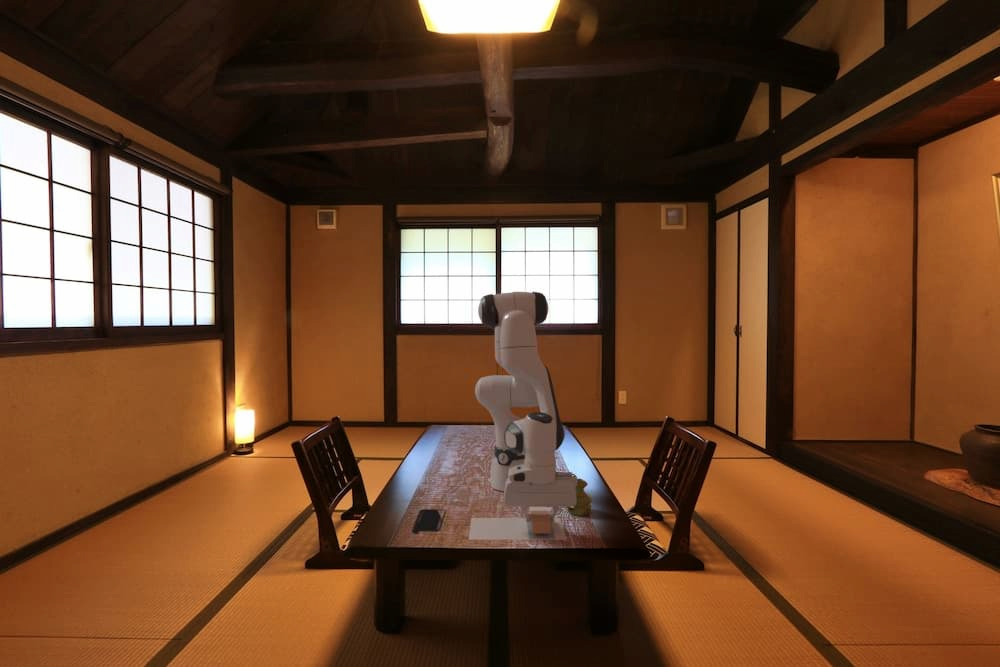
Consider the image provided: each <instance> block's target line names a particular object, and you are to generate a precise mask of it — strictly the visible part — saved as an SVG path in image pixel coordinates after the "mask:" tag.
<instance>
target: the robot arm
mask: <svg viewBox="0 0 1000 667" xmlns="http://www.w3.org/2000/svg"><path fill="white" fill-rule="evenodd" d="M548 303H549V302H548V300H547V297H546V295H544V293H543V292H537V291H532V292H529V291H511V292H502V293H496V294H493V293H490V294H486V295H483V296H482V298H481V299H480V301H479V304H478V308H477V314H478V317H479V320H480V322H481V324H482V325H484V326H485V327H486V328H489V329H492V330H493V331H494V358H495V361H496V363H497V364H498V365H499V366H500V367H501V368H503V369H504V370H505V372H507V373H508V374H509V375H503V374H502V375H500V374H498V375H497V374H494V375H493V374H492V375H486V376H483V377H480V378H479V379H478V381H477V382H476V384H475V388H474V394H475V398H476V400H477V401H478V403H479V404H480V405H481V406H483V407H484V408H485V409H486V410H487V412H489V414H490V415H491V418H492V420H493V423H494V429H495V445H494V449H493V451H494V453H493V454H494V458H492V460H491V465H490V466H491V468H490V477H488V478H487V483H489V484H490V486H491V488H493V489H494V490H497V491H499V492H500V491H501V492H503V504H504V505H505V506H506V507H508V508H510V507H511V508H513V507H515V508H516V507H517V508H518V507H519V508H521V510H522V513H523V514H524V516H525V518H526V522H531V514H530V513H528V511H527V510H528V508H530V507H547V508H549V507H550V508H551V507H552V511H551V513H549V517H550V520H551V522H554V518H555V516H556V514H557V513H558V512H559V507H560V508H564V507H565V508H567V507H574V506H575V505H576V503H577V498H576V490H575V487H576V486H577V479H578V476H577V475H576V474H575V473H573V472H571V471H567V472H563V471H557V459H556V456H555V455H556V454H555V453H556V451H557V450H558V449H560V447H561V445H563V442H564V440H565V438H566V435H565V434H566V432H565V429H564V428H565V427H564V425H563V423H562V420H561V417H560V413H559V409H558V405H557V403H558V402H557V398H556V394H555V390H554V384H553V381H552V377H551V374H550V370H549V369H548V367H547V366H546V364H544V363H543V362H542V360H541V358H540V357H541V356H540V355H539V351H538V340H537V334H536V328H535V326H537V325H541V324H543V323H544V322H545V321H546V320H547V317H548V313H549V304H548ZM534 407H539V411H534V412H529V413H528V414H527V415H525V417H524V418H521V417H519V416H517V415H515V414H514V413H513V412H511V410H510V408H534Z"/></svg>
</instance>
